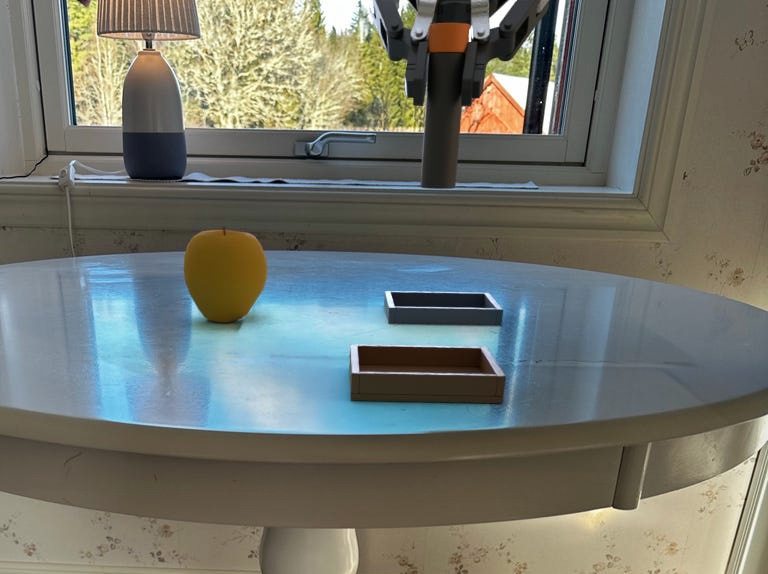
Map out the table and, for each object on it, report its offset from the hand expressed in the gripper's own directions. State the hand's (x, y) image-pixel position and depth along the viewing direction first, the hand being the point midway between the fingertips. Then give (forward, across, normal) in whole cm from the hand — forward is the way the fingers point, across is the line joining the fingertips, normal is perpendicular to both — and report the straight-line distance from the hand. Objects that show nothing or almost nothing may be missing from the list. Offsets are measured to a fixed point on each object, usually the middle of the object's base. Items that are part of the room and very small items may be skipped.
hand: (442, 95), depth 67 cm
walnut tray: (+15, 0, +13) cm, 20 cm away
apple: (0, -22, +29) cm, 36 cm away
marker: (+3, 0, +6) cm, 6 cm away
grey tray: (-5, -1, +33) cm, 33 cm away
